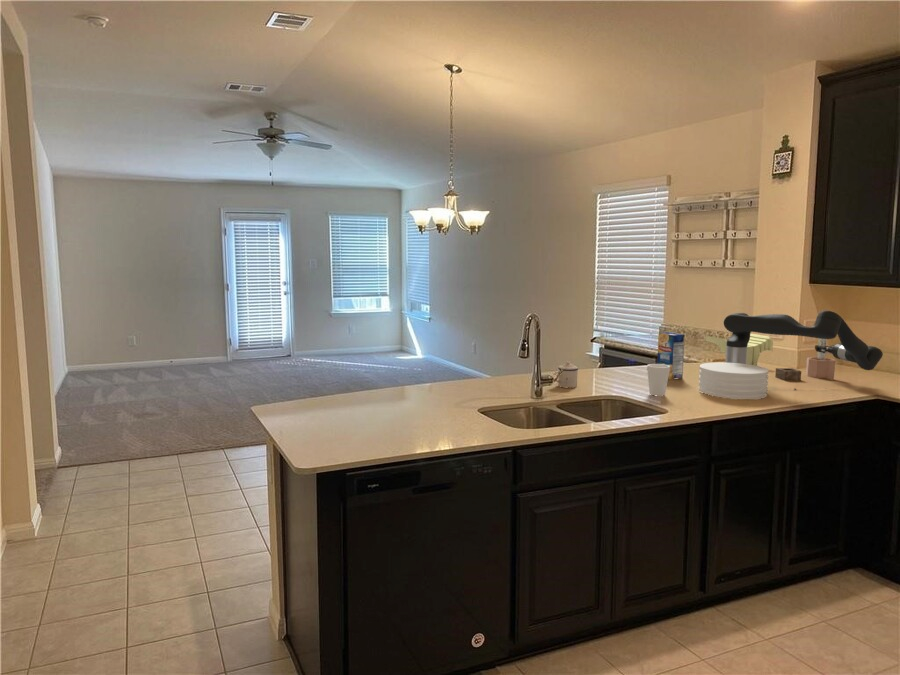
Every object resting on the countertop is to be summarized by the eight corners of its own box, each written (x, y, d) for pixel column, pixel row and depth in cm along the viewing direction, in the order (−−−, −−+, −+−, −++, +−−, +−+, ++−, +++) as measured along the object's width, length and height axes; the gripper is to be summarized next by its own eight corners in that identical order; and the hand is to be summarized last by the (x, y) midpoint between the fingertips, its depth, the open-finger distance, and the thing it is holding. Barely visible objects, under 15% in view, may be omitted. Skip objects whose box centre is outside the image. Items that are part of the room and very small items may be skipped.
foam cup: (665, 398, 271) (666, 368, 270) (643, 395, 276) (644, 366, 274) (670, 394, 279) (672, 365, 278) (649, 391, 284) (650, 363, 282)
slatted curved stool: (725, 373, 329) (727, 339, 327) (704, 368, 344) (706, 335, 342) (771, 370, 338) (773, 337, 336) (748, 365, 353) (750, 333, 351)
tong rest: (784, 383, 303) (784, 371, 302) (775, 380, 311) (775, 368, 310) (800, 383, 303) (801, 371, 302) (791, 380, 311) (791, 368, 310)
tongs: (815, 376, 316) (818, 328, 313) (820, 375, 316) (823, 328, 313) (819, 377, 313) (822, 328, 310) (824, 377, 313) (827, 328, 310)
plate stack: (760, 388, 292) (762, 364, 291) (772, 402, 266) (774, 375, 264) (695, 385, 300) (697, 361, 299) (701, 397, 273) (702, 371, 272)
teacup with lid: (570, 383, 301) (571, 359, 299) (581, 387, 293) (582, 362, 291) (548, 385, 296) (549, 361, 295) (559, 389, 288) (559, 364, 287)
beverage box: (671, 379, 312) (673, 335, 309) (656, 375, 322) (658, 332, 319) (682, 378, 314) (684, 334, 311) (667, 374, 324) (669, 332, 322)
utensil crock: (808, 380, 311) (810, 360, 310) (804, 376, 322) (806, 356, 320) (835, 381, 307) (836, 361, 306) (830, 377, 318) (831, 357, 316)
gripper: (830, 360, 295) (809, 354, 312) (859, 360, 296) (837, 354, 312) (831, 344, 294) (810, 339, 311) (861, 344, 295) (839, 339, 311)
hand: (824, 347), depth 311 cm, fingers open, 8 cm apart
